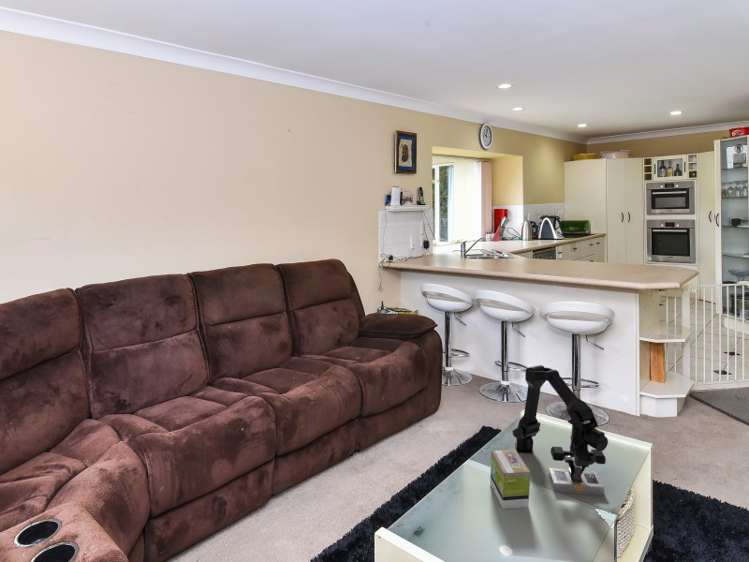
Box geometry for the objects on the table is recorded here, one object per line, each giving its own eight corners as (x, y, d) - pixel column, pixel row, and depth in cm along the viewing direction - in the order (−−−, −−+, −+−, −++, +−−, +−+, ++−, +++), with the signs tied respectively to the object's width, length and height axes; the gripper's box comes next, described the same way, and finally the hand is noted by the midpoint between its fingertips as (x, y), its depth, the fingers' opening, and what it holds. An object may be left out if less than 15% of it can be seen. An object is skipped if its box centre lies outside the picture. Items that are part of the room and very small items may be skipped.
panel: (573, 481, 190) (575, 467, 189) (570, 473, 195) (572, 459, 193) (580, 482, 190) (582, 467, 188) (577, 474, 194) (578, 460, 193)
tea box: (488, 484, 194) (490, 449, 191) (514, 482, 195) (516, 448, 192) (501, 509, 179) (504, 472, 176) (529, 508, 180) (531, 471, 177)
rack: (553, 491, 189) (554, 483, 188) (548, 475, 199) (548, 467, 198) (603, 496, 186) (604, 487, 186) (596, 479, 196) (596, 471, 196)
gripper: (557, 447, 182) (554, 485, 186) (612, 451, 180) (608, 490, 183) (551, 432, 193) (548, 468, 196) (603, 435, 190) (599, 472, 194)
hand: (575, 475), depth 192 cm, fingers closed on panel, 2 cm apart
